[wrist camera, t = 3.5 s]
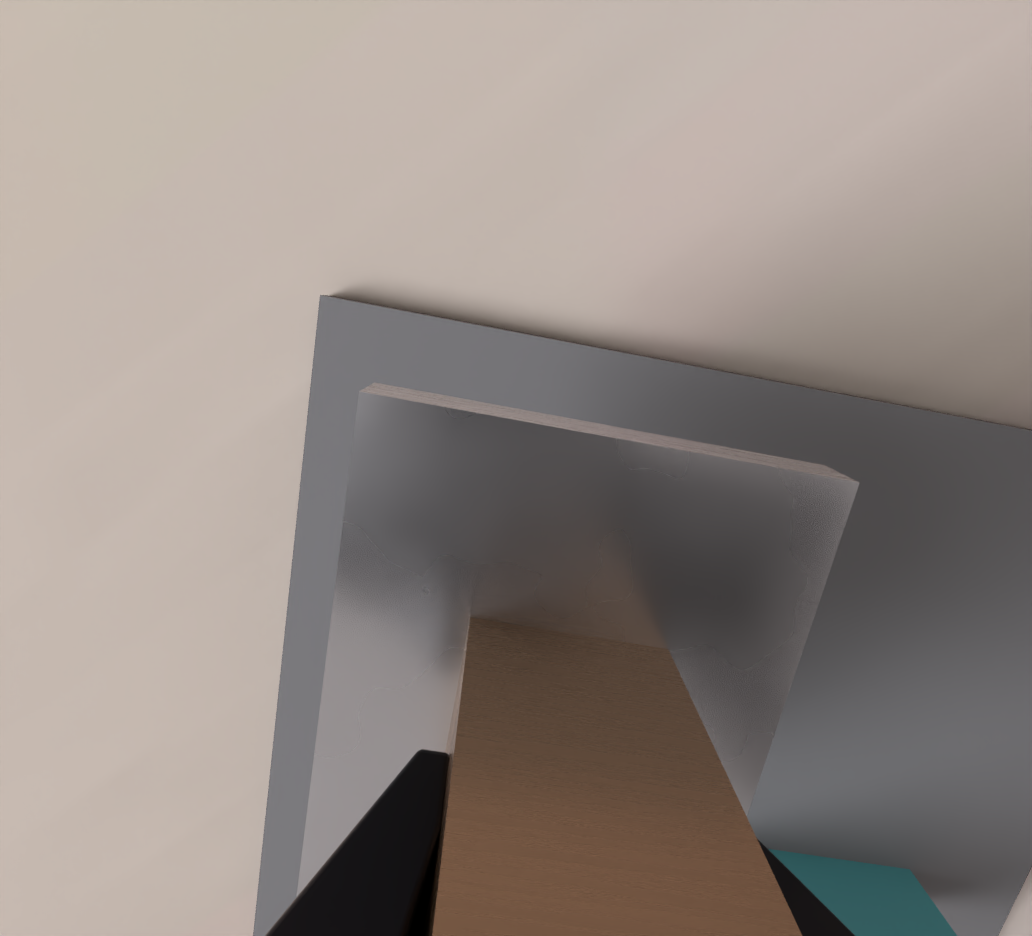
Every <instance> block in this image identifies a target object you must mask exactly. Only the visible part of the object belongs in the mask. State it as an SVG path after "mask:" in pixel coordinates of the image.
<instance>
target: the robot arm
mask: <svg viewBox="0 0 1032 936" xmlns="http://www.w3.org/2000/svg"><path fill="white" fill-rule="evenodd" d="M448 761H449V754H447V753H445V752H439V751H433V750H426V749H421V750H419V751H417V752H416V753H415V754H414V756H413V757H412V758H411V759H410V760H409V762H408V763H407V764H406V765H405V766H404V768H403V769H402V770H401V771H400V773H399V774H398V775H397V776H396V777H395V779H394V780H393V781H392V782H391V783H390V785H389V786H388V787H387V788H386V789H385V791H384V792H383V793H382V794H381V796H380V797H379V798H378V799H377V800H376V802H375V803H374V804H373V805H372V806H371V808H370V809H369V810H368V811H367V812H366V814H365V815H364V816H363V817H362V819H361V820H360V821H359V822H358V823H357V825H356V826H355V827H354V828H353V829H352V831H351V832H350V833H349V834H348V835H347V837H346V838H345V839H344V840H343V842H342V843H341V844H340V845H339V846H338V848H337V849H336V850H335V851H334V852H333V854H332V855H331V856H330V857H329V858H328V860H327V861H326V862H325V863H324V864H323V866H322V867H321V868H320V869H319V871H318V872H317V873H316V874H315V875H314V877H313V878H312V879H311V880H310V881H309V883H308V884H307V885H306V886H305V887H304V889H303V890H302V891H301V892H300V894H299V895H298V896H297V897H296V898H295V900H294V901H293V902H292V903H291V904H290V906H289V907H288V908H287V909H286V910H285V912H284V913H283V914H282V915H281V917H280V918H279V919H278V920H277V921H276V923H275V924H274V925H273V926H272V927H271V929H270V930H269V931H268V932H267V933H266V935H265V936H421V932H422V927H423V922H424V916H425V911H426V906H427V901H428V895H429V890H430V885H431V880H432V874H433V869H434V864H435V859H436V853H437V848H438V843H439V837H440V830H441V822H442V813H443V805H444V796H445V787H446V778H447V769H448ZM756 838H757V837H756ZM757 840H758V842H759V844H760V846H761V848H762V851H763V853H764V855H765V857H766V859H767V861H768V863H769V865H770V868H771V870H772V872H773V874H774V876H775V878H776V880H777V883H778V885H779V887H780V889H781V891H782V893H783V895H784V898H785V900H786V902H787V904H788V906H789V908H790V910H791V913H792V915H793V917H794V919H795V921H796V923H797V925H798V928H799V930H800V932H801V934H802V936H855V935H854V934H853V933H852V932H851V931H850V930H849V929H848V928H847V927H846V926H845V925H844V924H843V923H842V922H841V921H840V920H839V919H838V918H837V917H836V916H835V915H834V914H833V913H832V912H831V911H830V910H829V909H828V908H827V907H826V906H825V905H824V904H823V903H822V902H821V901H820V900H819V899H818V898H817V897H816V896H815V895H814V894H813V893H812V892H811V891H810V890H809V889H808V888H807V887H806V886H805V885H804V884H803V883H802V882H801V881H800V880H799V879H798V878H797V877H796V876H795V875H794V874H793V873H792V872H791V871H790V870H789V869H788V868H787V867H786V866H785V865H784V864H783V863H782V862H781V861H780V860H779V859H778V858H777V857H776V856H775V855H774V854H773V853H772V852H771V851H770V850H769V849H768V848H767V847H766V846H765V845H764V844H763V843H762V842H761V841H760V840H759V839H758V838H757Z"/></svg>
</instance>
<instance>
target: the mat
mask: <svg viewBox="0 0 1032 936" xmlns="http://www.w3.org/2000/svg"><path fill="white" fill-rule="evenodd" d="M373 383H381V384H386V385H392V386H397V387H402V388H408V389H413V390H419V391H424V392H430V393H435V394H441V395H446V396H452V397H457V398H462V399H468V400H473V401H479V402H484V403H490V404H495V405H501V406H506V407H511V408H517V409H522V410H528V411H533V412H539V413H544V414H550V415H555V416H561V417H566V418H571V419H577V420H582V421H588V422H593V423H599V424H604V425H610V426H615V427H621V428H626V429H631V430H637V431H642V432H648V433H653V434H659V435H664V436H670V437H675V438H680V439H686V440H691V441H697V442H702V443H708V444H713V445H719V446H724V447H730V448H735V449H740V450H746V451H751V452H757V453H762V454H768V455H773V456H779V457H784V458H790V459H795V460H800V461H806V462H811V463H817V464H822V465H826V466H828V467H830V468H832V469H834V470H836V471H837V472H839V473H841V474H843V475H845V476H847V477H849V478H851V479H853V480H855V481H857V482H859V486H858V489H857V492H856V495H855V498H854V501H853V504H852V507H851V510H850V513H849V516H848V519H847V522H846V525H845V527H844V530H843V533H842V536H841V539H840V542H839V545H838V548H837V551H836V554H835V557H834V560H833V563H832V566H831V569H830V572H829V575H828V578H827V581H826V584H825V587H824V590H823V593H822V596H821V598H820V601H819V604H818V607H817V610H816V613H815V616H814V619H813V622H812V625H811V628H810V631H809V634H808V637H807V640H806V643H805V646H804V649H803V652H802V655H801V658H800V661H799V664H798V666H797V669H796V672H795V675H794V678H793V681H792V684H791V687H790V690H789V693H788V696H787V699H786V702H785V705H784V708H783V711H782V714H781V717H780V720H779V723H778V726H777V729H776V732H775V734H774V737H773V740H772V743H771V746H770V749H769V752H768V755H767V758H766V761H765V764H764V767H763V770H762V773H761V776H760V779H759V782H758V785H757V788H756V791H755V794H754V797H753V800H752V803H751V805H750V808H749V811H748V814H747V818H748V821H749V823H750V825H751V827H752V829H753V831H754V833H755V836H756V837H757V838H758V839H759V840H760V841H761V842H762V843H763V844H764V845H765V846H766V847H767V848H768V849H773V850H780V851H787V852H794V853H801V854H807V855H814V856H821V857H828V858H835V859H842V860H849V861H856V862H863V863H870V864H876V865H883V866H890V867H897V868H904V869H910V870H911V872H912V873H913V874H914V876H915V877H916V879H917V880H918V881H919V883H920V884H921V886H922V887H923V888H924V890H925V891H926V893H927V894H928V895H929V897H930V898H931V900H932V901H933V902H934V904H935V905H936V907H937V908H938V909H939V911H940V912H941V914H942V915H943V916H944V918H945V919H946V921H947V922H948V923H949V925H950V926H951V928H952V929H953V930H954V932H955V933H956V935H957V936H998V935H999V933H1000V931H1001V929H1002V927H1003V925H1004V922H1005V920H1006V918H1007V916H1008V914H1009V912H1010V910H1011V908H1012V906H1013V904H1014V902H1015V900H1016V898H1017V896H1018V894H1019V892H1020V890H1021V888H1022V886H1023V884H1024V882H1025V879H1026V877H1027V875H1028V873H1029V871H1030V869H1031V867H1032V430H1029V429H1023V428H1018V427H1013V426H1008V425H1003V424H997V423H992V422H987V421H982V420H976V419H971V418H966V417H961V416H955V415H950V414H945V413H940V412H934V411H929V410H924V409H919V408H914V407H908V406H903V405H898V404H893V403H887V402H882V401H877V400H872V399H866V398H861V397H856V396H851V395H845V394H840V393H835V392H830V391H825V390H819V389H814V388H809V387H804V386H798V385H793V384H788V383H783V382H777V381H772V380H767V379H762V378H756V377H751V376H746V375H741V374H736V373H730V372H725V371H720V370H715V369H709V368H704V367H699V366H694V365H688V364H683V363H678V362H673V361H667V360H662V359H657V358H652V357H647V356H641V355H636V354H631V353H626V352H620V351H615V350H610V349H605V348H599V347H594V346H589V345H584V344H579V343H573V342H568V341H563V340H558V339H552V338H547V337H542V336H537V335H531V334H526V333H521V332H516V331H510V330H505V329H500V328H495V327H490V326H484V325H479V324H474V323H469V322H463V321H458V320H453V319H448V318H442V317H437V316H432V315H427V314H421V313H416V312H411V311H406V310H401V309H395V308H390V307H385V306H380V305H374V304H369V303H364V302H359V301H353V300H348V299H343V298H338V297H332V296H326V295H320V301H319V310H318V320H317V330H316V339H315V349H314V358H313V368H312V377H311V387H310V397H309V406H308V416H307V425H306V435H305V444H304V454H303V463H302V473H301V483H300V492H299V502H298V511H297V521H296V530H295V540H294V550H293V559H292V569H291V578H290V588H289V597H288V607H287V617H286V626H285V636H284V645H283V655H282V664H281V674H280V684H279V693H278V703H277V712H276V722H275V731H274V741H273V751H272V760H271V770H270V779H269V789H268V798H267V808H266V818H265V827H264V837H263V846H262V856H261V865H260V875H259V884H258V894H257V904H256V913H255V923H254V932H253V936H265V935H266V933H267V932H268V931H269V930H270V929H271V927H272V926H273V925H274V924H275V923H276V921H277V920H278V919H279V918H280V917H281V915H282V914H283V913H284V912H285V910H286V909H287V908H288V907H289V906H290V904H291V903H292V902H293V901H294V900H295V898H296V897H297V889H298V880H299V872H300V864H301V856H302V848H303V840H304V832H305V824H306V816H307V808H308V800H309V792H310V784H311V776H312V768H313V760H314V751H315V743H316V735H317V727H318V719H319V711H320V703H321V695H322V687H323V679H324V671H325V663H326V655H327V647H328V639H329V631H330V622H331V614H332V606H333V598H334V590H335V582H336V574H337V566H338V558H339V550H340V542H341V534H342V526H343V518H344V510H345V502H346V493H347V485H348V477H349V469H350V461H351V453H352V445H353V437H354V429H355V421H356V413H357V405H358V397H359V391H361V390H362V389H364V388H366V387H368V386H369V385H371V384H373Z"/></svg>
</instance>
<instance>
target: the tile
mask: <svg viewBox="0 0 1032 936" xmlns="http://www.w3.org/2000/svg"><path fill="white" fill-rule="evenodd" d="M769 850H770V851H771V852H772V853H773V854H774V855H775V856H776V857H777V858H778V859H779V860H780V861H781V862H782V863H783V864H784V865H785V866H786V867H787V868H788V869H789V870H790V871H791V872H792V873H793V874H794V875H795V876H796V877H797V878H798V879H799V880H800V881H801V882H802V883H803V884H804V885H805V886H806V887H807V888H808V889H809V890H810V891H811V892H812V893H813V894H814V895H815V896H816V897H817V898H818V899H819V900H820V901H821V902H822V903H823V904H824V905H825V906H826V907H827V908H828V909H829V910H830V911H831V912H832V913H833V914H834V915H835V916H836V917H837V918H838V919H839V920H840V921H841V922H842V923H843V924H844V925H845V926H846V927H847V928H848V929H849V930H850V931H851V932H852V933H853V934H854V935H855V936H957V935H956V933H955V932H954V930H953V929H952V928H951V926H950V925H949V923H948V922H947V921H946V919H945V918H944V916H943V915H942V914H941V912H940V911H939V909H938V908H937V907H936V905H935V904H934V902H933V901H932V900H931V898H930V897H929V895H928V894H927V893H926V891H925V890H924V888H923V887H922V886H921V884H920V883H919V881H918V880H917V879H916V877H915V876H914V874H913V873H912V872H911V870H910V869H904V868H897V867H890V866H883V865H876V864H870V863H863V862H856V861H849V860H842V859H835V858H828V857H821V856H814V855H807V854H801V853H794V852H787V851H780V850H773V849H769Z"/></svg>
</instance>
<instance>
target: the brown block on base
mask: <svg viewBox="0 0 1032 936" xmlns="http://www.w3.org/2000/svg"><path fill="white" fill-rule="evenodd" d="M858 486H859V482H857V481H855V480H853V479H851V478H849V477H847V476H845V475H843V474H841V473H839V472H837V471H836V470H834V469H832V468H830V467H828V466H826V465H822V464H817V463H811V462H806V461H800V460H795V459H790V458H784V457H779V456H773V455H768V454H762V453H757V452H751V451H746V450H740V449H735V448H730V447H724V446H719V445H713V444H708V443H702V442H697V441H691V440H686V439H680V438H675V437H670V436H664V435H659V434H653V433H648V432H642V431H637V430H631V429H626V428H621V427H615V426H610V425H604V424H599V423H593V422H588V421H582V420H577V419H571V418H566V417H561V416H555V415H550V414H544V413H539V412H533V411H528V410H522V409H517V408H511V407H506V406H501V405H495V404H490V403H484V402H479V401H473V400H468V399H462V398H457V397H452V396H446V395H441V394H435V393H430V392H424V391H419V390H413V389H408V388H402V387H397V386H392V385H386V384H381V383H373V384H371V385H369V386H368V387H366V388H364V389H362V390H361V391H359V397H358V405H357V413H356V421H355V429H354V437H353V445H352V453H351V461H350V469H349V477H348V485H347V493H346V502H345V510H344V518H343V526H342V534H341V542H340V550H339V558H338V566H337V574H336V582H335V590H334V598H333V606H332V614H331V622H330V631H329V639H328V647H327V655H326V663H325V671H324V679H323V687H322V695H321V703H320V711H319V719H318V727H317V735H316V743H315V751H314V760H313V768H312V776H311V784H310V792H309V800H308V808H307V816H306V824H305V832H304V840H303V848H302V856H301V864H300V872H299V880H298V889H297V896H298V895H299V894H300V892H301V891H302V890H303V889H304V887H305V886H306V885H307V884H308V883H309V881H310V880H311V879H312V878H313V877H314V875H315V874H316V873H317V872H318V871H319V869H320V868H321V867H322V866H323V864H324V863H325V862H326V861H327V860H328V858H329V857H330V856H331V855H332V854H333V852H334V851H335V850H336V849H337V848H338V846H339V845H340V844H341V843H342V842H343V840H344V839H345V838H346V837H347V835H348V834H349V833H350V832H351V831H352V829H353V828H354V827H355V826H356V825H357V823H358V822H359V821H360V820H361V819H362V817H363V816H364V815H365V814H366V812H367V811H368V810H369V809H370V808H371V806H372V805H373V804H374V803H375V802H376V800H377V799H378V798H379V797H380V796H381V794H382V793H383V792H384V791H385V789H386V788H387V787H388V786H389V785H390V783H391V782H392V781H393V780H394V779H395V777H396V776H397V775H398V774H399V773H400V771H401V770H402V769H403V768H404V766H405V765H406V764H407V763H408V762H409V760H410V759H411V758H412V757H413V756H414V754H415V753H416V752H417V751H419V750H421V749H426V750H433V751H439V752H445V753H447V754H449V761H448V769H447V778H446V787H445V796H444V805H443V813H442V822H441V830H440V837H439V843H438V848H437V853H436V859H435V864H434V869H433V874H432V880H431V885H430V890H429V895H428V901H427V906H426V911H425V916H424V922H423V927H422V932H421V936H802V934H801V932H800V930H799V928H798V925H797V923H796V921H795V919H794V917H793V915H792V913H791V910H790V908H789V906H788V904H787V902H786V900H785V898H784V895H783V893H782V891H781V889H780V887H779V885H778V883H777V880H776V878H775V876H774V874H773V872H772V870H771V868H770V865H769V863H768V861H767V859H766V857H765V855H764V853H763V851H762V848H761V846H760V844H759V842H758V840H757V838H756V836H755V833H754V831H753V829H752V827H751V825H750V823H749V821H748V818H747V814H748V811H749V808H750V805H751V803H752V800H753V797H754V794H755V791H756V788H757V785H758V782H759V779H760V776H761V773H762V770H763V767H764V764H765V761H766V758H767V755H768V752H769V749H770V746H771V743H772V740H773V737H774V734H775V732H776V729H777V726H778V723H779V720H780V717H781V714H782V711H783V708H784V705H785V702H786V699H787V696H788V693H789V690H790V687H791V684H792V681H793V678H794V675H795V672H796V669H797V666H798V664H799V661H800V658H801V655H802V652H803V649H804V646H805V643H806V640H807V637H808V634H809V631H810V628H811V625H812V622H813V619H814V616H815V613H816V610H817V607H818V604H819V601H820V598H821V596H822V593H823V590H824V587H825V584H826V581H827V578H828V575H829V572H830V569H831V566H832V563H833V560H834V557H835V554H836V551H837V548H838V545H839V542H840V539H841V536H842V533H843V530H844V527H845V525H846V522H847V519H848V516H849V513H850V510H851V507H852V504H853V501H854V498H855V495H856V492H857V489H858Z"/></svg>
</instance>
